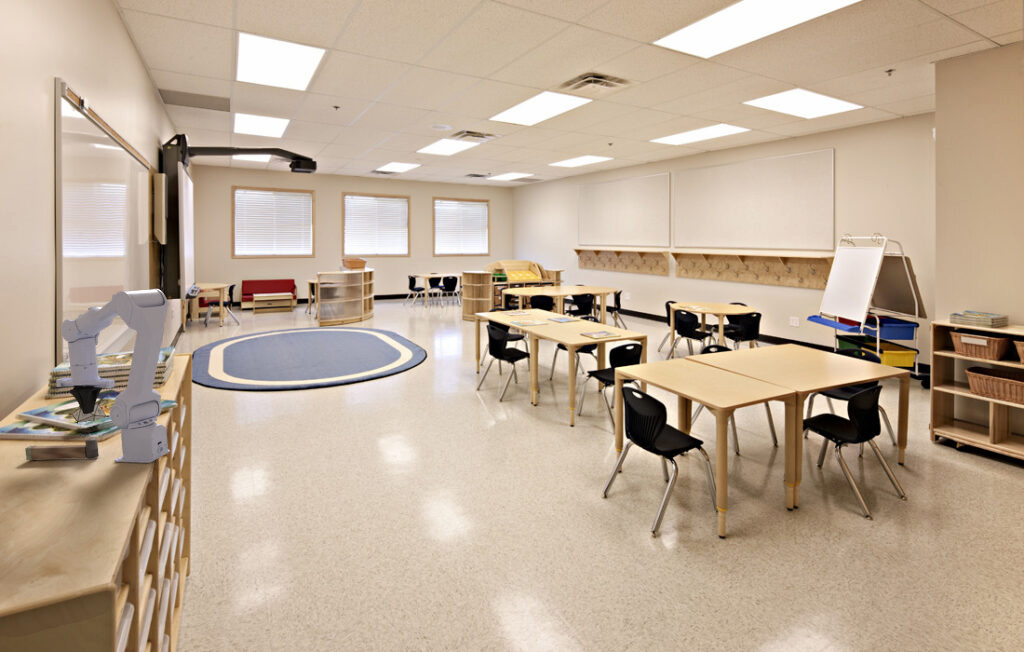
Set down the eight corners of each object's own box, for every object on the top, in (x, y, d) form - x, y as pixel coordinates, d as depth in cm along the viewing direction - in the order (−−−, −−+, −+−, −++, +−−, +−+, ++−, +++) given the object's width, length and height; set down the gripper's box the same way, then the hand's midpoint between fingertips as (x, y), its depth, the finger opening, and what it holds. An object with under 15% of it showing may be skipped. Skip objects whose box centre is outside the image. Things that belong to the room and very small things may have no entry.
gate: (100, 455, 141) (99, 438, 140) (95, 459, 138) (93, 441, 138) (32, 457, 139) (30, 439, 138) (25, 460, 136) (23, 443, 136)
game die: (86, 439, 163) (76, 409, 165) (117, 426, 166) (107, 397, 168) (69, 434, 155) (59, 403, 157) (102, 420, 158) (92, 390, 160)
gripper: (121, 361, 148) (125, 409, 150) (70, 359, 149) (74, 407, 151) (101, 366, 141) (105, 417, 143) (47, 365, 142) (52, 415, 144)
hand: (88, 412), depth 146 cm, fingers closed
